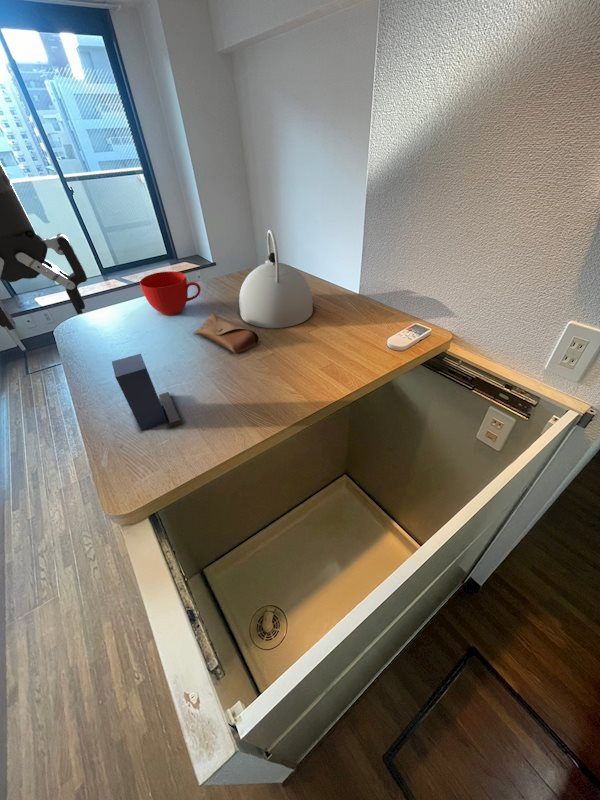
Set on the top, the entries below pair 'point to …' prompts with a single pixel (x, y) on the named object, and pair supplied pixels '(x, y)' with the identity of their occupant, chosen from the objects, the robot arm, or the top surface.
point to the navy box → (139, 391)
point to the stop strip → (170, 409)
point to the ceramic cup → (167, 291)
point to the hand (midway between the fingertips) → (47, 319)
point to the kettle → (275, 294)
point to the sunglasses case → (228, 334)
